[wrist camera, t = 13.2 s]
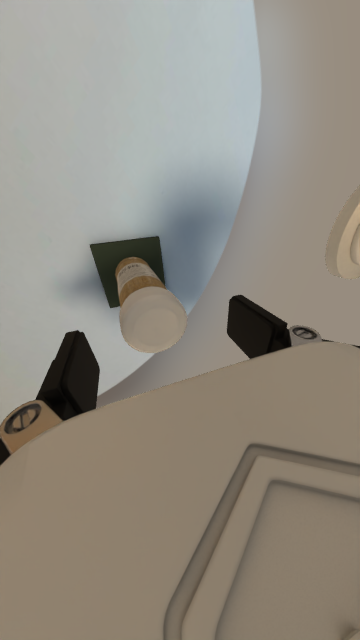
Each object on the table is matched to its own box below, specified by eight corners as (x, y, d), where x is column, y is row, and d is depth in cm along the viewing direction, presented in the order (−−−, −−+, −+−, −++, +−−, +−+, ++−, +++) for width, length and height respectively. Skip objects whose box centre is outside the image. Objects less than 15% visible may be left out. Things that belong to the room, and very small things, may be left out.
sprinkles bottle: (120, 294, 23) (130, 363, 12) (110, 258, 21) (111, 305, 10) (154, 287, 24) (190, 345, 13) (148, 252, 22) (187, 289, 11)
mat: (158, 236, 22) (159, 236, 21) (165, 295, 26) (166, 296, 25) (90, 244, 20) (89, 245, 19) (110, 306, 24) (110, 308, 24)
